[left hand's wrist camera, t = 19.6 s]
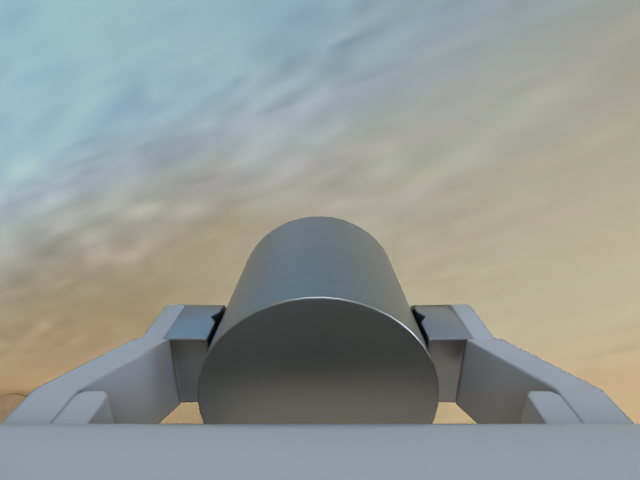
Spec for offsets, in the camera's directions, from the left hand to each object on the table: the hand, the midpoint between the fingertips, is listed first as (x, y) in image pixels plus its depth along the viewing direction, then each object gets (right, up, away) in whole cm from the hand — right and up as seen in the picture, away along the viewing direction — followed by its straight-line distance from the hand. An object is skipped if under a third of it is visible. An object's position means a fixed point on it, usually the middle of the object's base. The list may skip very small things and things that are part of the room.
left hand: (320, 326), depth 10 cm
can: (0, +1, +2) cm, 2 cm away
